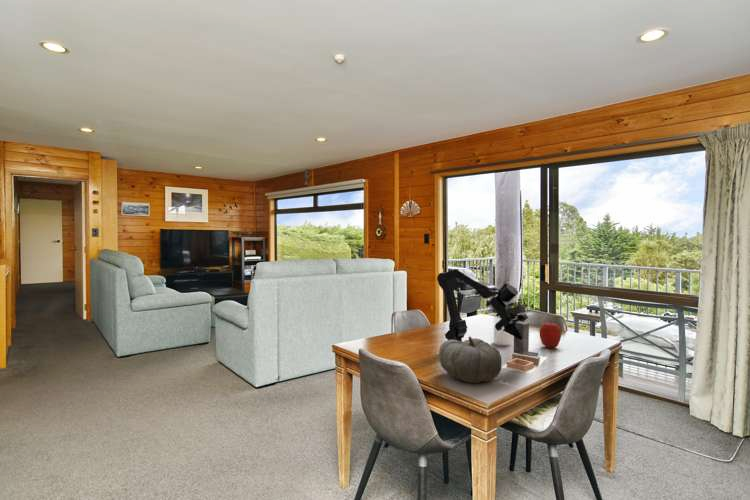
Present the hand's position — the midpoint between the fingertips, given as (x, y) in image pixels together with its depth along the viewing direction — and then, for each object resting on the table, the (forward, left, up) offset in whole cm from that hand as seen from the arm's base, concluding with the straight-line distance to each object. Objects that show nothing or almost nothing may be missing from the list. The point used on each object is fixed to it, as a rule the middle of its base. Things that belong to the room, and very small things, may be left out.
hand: (524, 338), depth 166 cm
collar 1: (-1, +1, -12) cm, 13 cm away
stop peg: (0, +1, -7) cm, 7 cm away
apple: (+37, +23, -14) cm, 46 cm away
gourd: (-27, 0, -14) cm, 30 cm away
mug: (+15, +34, -14) cm, 40 cm away
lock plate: (+6, +5, -13) cm, 15 cm away
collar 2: (+12, +9, -12) cm, 20 cm away
